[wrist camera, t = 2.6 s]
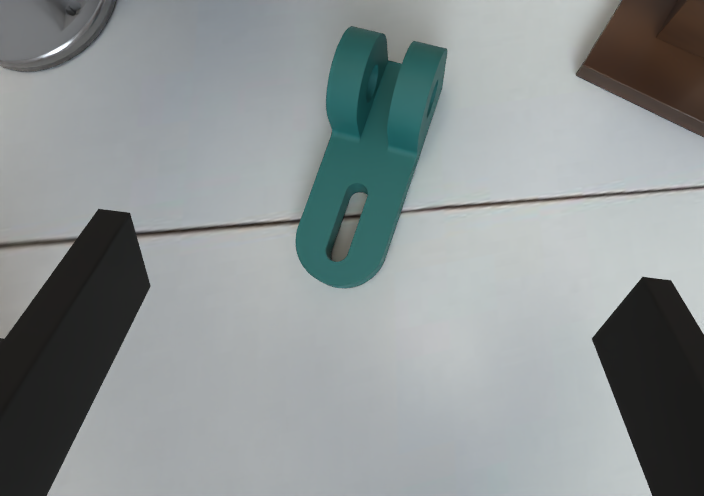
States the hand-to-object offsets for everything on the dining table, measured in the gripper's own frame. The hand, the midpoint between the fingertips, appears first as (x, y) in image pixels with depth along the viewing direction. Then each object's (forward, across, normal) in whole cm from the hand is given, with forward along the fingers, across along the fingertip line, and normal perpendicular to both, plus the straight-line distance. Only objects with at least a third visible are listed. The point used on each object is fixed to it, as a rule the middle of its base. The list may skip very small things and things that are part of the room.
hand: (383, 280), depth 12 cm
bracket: (+22, +1, -12) cm, 25 cm away
